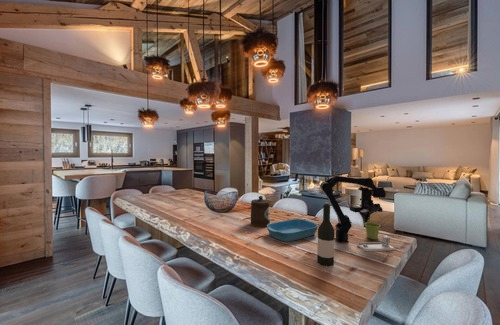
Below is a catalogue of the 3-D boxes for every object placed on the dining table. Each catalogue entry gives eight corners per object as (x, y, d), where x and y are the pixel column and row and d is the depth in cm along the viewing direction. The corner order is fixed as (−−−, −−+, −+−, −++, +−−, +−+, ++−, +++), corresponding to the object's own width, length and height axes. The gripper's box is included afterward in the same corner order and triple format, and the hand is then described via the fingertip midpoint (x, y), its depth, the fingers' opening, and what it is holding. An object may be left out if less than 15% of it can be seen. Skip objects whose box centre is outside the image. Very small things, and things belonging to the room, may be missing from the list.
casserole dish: (281, 246, 138) (281, 234, 138) (260, 234, 157) (260, 224, 157) (324, 235, 158) (324, 225, 157) (300, 226, 177) (300, 217, 176)
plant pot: (371, 240, 148) (372, 227, 148) (360, 235, 157) (361, 223, 157) (383, 239, 150) (384, 226, 150) (372, 234, 160) (372, 222, 159)
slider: (385, 246, 135) (386, 237, 135) (381, 244, 139) (381, 235, 139) (390, 246, 135) (390, 237, 135) (386, 243, 139) (386, 235, 139)
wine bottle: (330, 259, 121) (331, 201, 120) (337, 266, 113) (338, 204, 112) (314, 259, 121) (315, 201, 120) (319, 266, 112) (321, 204, 112)
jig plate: (365, 251, 132) (365, 247, 131) (357, 245, 139) (357, 242, 139) (394, 250, 134) (394, 246, 134) (384, 244, 142) (385, 241, 142)
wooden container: (270, 227, 173) (271, 197, 172) (250, 227, 173) (250, 197, 172) (269, 221, 188) (269, 194, 187) (250, 221, 188) (251, 194, 187)
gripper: (360, 200, 136) (359, 226, 137) (389, 199, 139) (388, 226, 139) (349, 196, 148) (348, 221, 148) (376, 196, 150) (376, 220, 150)
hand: (365, 222), depth 146 cm, fingers closed
